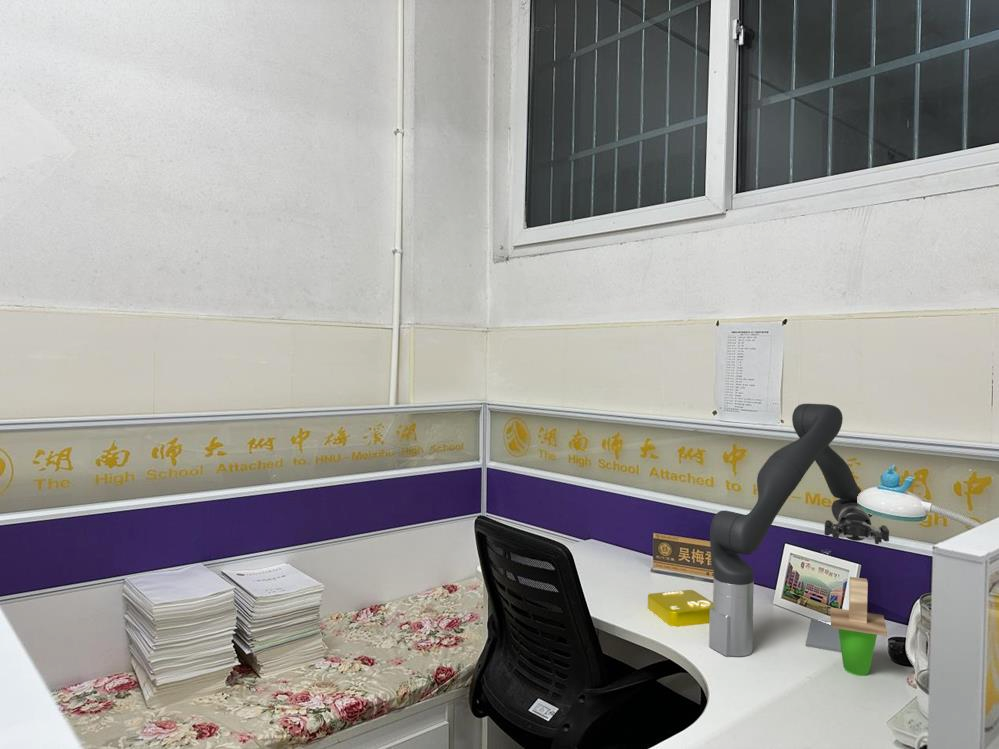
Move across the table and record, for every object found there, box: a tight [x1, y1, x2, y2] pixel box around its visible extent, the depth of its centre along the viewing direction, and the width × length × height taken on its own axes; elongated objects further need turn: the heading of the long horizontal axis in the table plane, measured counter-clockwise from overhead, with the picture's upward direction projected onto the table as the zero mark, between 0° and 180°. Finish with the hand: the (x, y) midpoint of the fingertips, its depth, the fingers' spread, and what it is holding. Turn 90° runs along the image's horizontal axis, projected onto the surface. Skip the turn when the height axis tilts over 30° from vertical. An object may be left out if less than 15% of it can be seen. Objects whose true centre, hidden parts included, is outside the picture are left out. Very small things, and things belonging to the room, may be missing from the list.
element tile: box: [647, 589, 713, 628], centre depth 193 cm, size 15×15×5 cm
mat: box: [805, 618, 841, 653], centre depth 178 cm, size 18×13×1 cm
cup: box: [838, 629, 878, 677], centre depth 160 cm, size 9×9×11 cm
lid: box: [829, 576, 888, 637], centre depth 159 cm, size 11×11×10 cm
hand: (857, 537), depth 169 cm, fingers open, 8 cm apart
